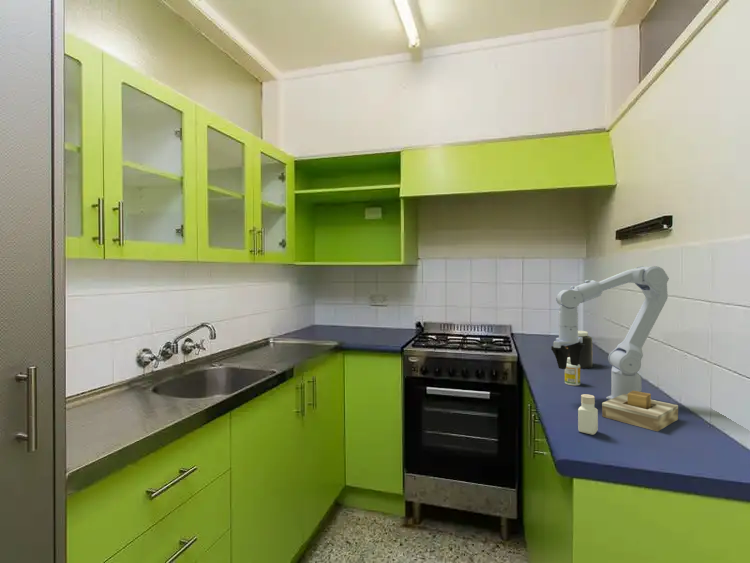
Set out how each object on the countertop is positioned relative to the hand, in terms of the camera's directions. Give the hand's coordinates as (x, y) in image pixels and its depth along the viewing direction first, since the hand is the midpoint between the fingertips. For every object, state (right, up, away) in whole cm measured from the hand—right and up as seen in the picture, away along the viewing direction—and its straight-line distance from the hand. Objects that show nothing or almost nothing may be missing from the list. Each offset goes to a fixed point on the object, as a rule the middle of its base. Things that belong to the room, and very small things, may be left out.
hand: (568, 366), depth 135 cm
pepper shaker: (-8, -12, -28) cm, 31 cm away
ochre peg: (+11, -11, -19) cm, 24 cm away
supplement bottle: (+9, -10, +17) cm, 22 cm away
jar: (+25, -9, +45) cm, 52 cm away
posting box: (+11, -11, -19) cm, 24 cm away
